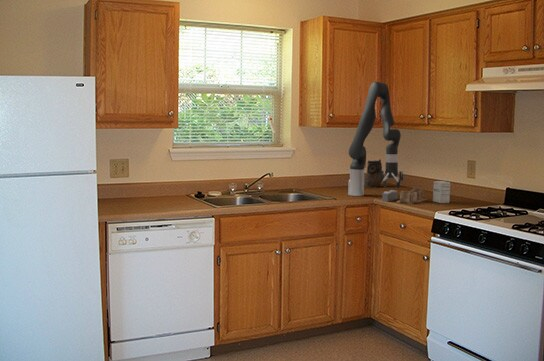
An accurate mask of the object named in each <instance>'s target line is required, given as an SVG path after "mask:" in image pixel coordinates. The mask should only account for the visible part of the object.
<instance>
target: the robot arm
mask: <svg viewBox="0 0 544 361" xmlns="http://www.w3.org/2000/svg"><path fill="white" fill-rule="evenodd" d="M378 98H379V99H380V101H381V109H380V118H381V119H380V120H381V122H382V127H383V129H382V137H383V139H384V140H385V141H387V142H390V141H391V143H390V144H387V145H386V147H385V148H386V149H385V159H384V160H385V170H383V169H382V170H381V175H380V180H382V182H383V183H382V184H383V185H382V186H383V187H384V188H387V184H388V183H387V180H388V179H395V180H396V189H399V188H400V186H401V182H403V181H404V172H403V170H401V171H400V170H398V169H399V155H398V154H399V153H398V152H399V151H398V149H399V144H400V140H401V137H402V135H401V134H402V133H401V131H400V130H399V129H397V128H394V129H393V128H392V127H393V126H394V125H395V120H394V116H393V112H392V108H391V99H390V98H391V96H390V91H389V87H388V84H386V83H384V82H381V81H380V82H379V81H372V83H371V84H370V86H369V89H368V92H367V96H366V101H365V104H364V107H363V111H362V114H361V115H360V119H359V121H358V122H359V123H358V126H357V128H356V132H355V135H354V137H353V139H352V142H351V144H350V146H349V148H348V155H349V157H350V158H351V159H352V161H351V163H350V165H349V180H348V185H347V186H348V188H347V189H348V190H347V194H348V196H355V197H362V196H363V197H364V195H365V193H364V192H365V191H364V190H365V189H364V188H365V166H366V161H367V149H366V146H364V143H365V140H366V139H367V137H368V136H369V135H370V133H371V131H372V130H373V128H374V124H375V122H376V119H377V115H376V102H377V99H378ZM398 175H399V176H398Z"/></svg>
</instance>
